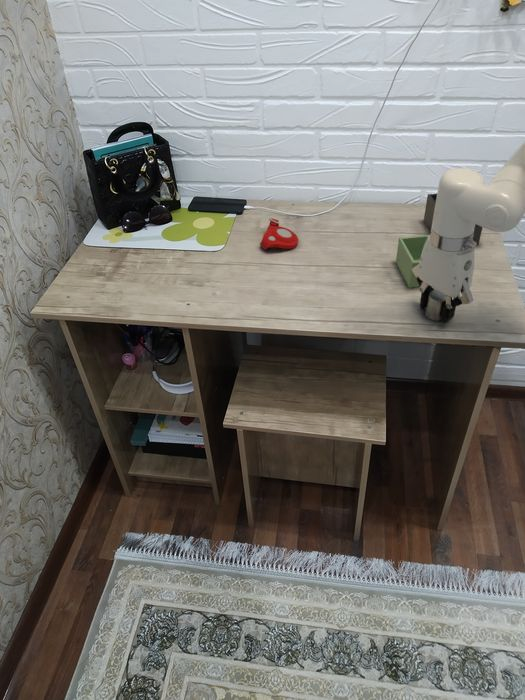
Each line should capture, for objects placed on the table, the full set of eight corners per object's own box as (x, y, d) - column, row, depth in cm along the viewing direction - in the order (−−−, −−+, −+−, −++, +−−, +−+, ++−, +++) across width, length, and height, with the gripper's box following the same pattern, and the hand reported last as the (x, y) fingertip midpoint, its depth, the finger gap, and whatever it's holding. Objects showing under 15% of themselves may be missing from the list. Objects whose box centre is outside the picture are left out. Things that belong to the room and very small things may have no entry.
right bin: (478, 245, 137) (485, 216, 132) (441, 249, 136) (446, 221, 131) (458, 217, 146) (463, 190, 141) (423, 221, 146) (427, 194, 141)
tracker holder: (307, 238, 141) (278, 246, 134) (301, 253, 144) (273, 261, 137) (276, 211, 146) (247, 217, 140) (271, 225, 149) (242, 232, 142)
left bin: (449, 283, 126) (454, 258, 122) (408, 287, 126) (412, 262, 121) (434, 258, 134) (438, 233, 129) (395, 262, 133) (398, 237, 129)
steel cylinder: (448, 319, 117) (452, 300, 114) (429, 321, 117) (432, 302, 114) (441, 307, 120) (445, 288, 117) (423, 309, 120) (426, 290, 117)
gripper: (502, 248, 102) (481, 325, 115) (429, 212, 113) (417, 287, 125) (475, 263, 99) (456, 341, 112) (402, 226, 110) (392, 301, 122)
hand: (435, 312), depth 118 cm, fingers open, 4 cm apart
